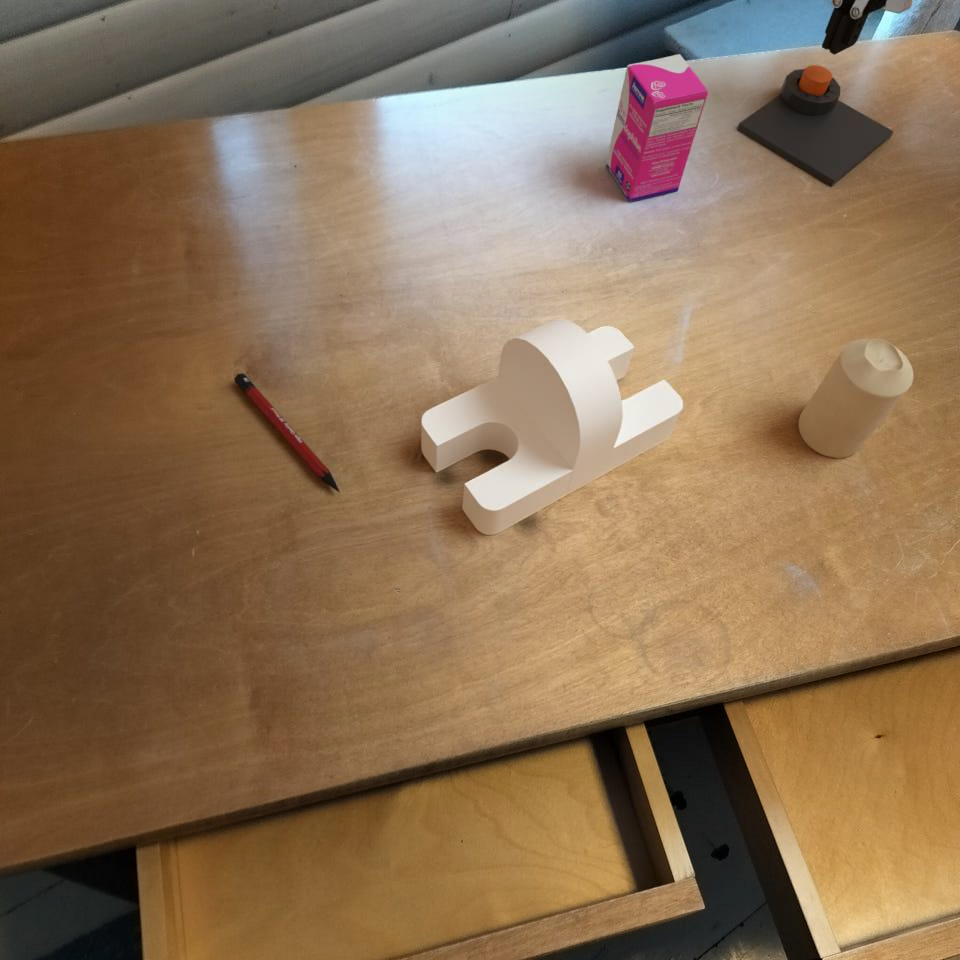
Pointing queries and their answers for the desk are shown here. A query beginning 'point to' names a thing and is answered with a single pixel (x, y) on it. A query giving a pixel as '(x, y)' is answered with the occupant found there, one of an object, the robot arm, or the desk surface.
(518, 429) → the bracket
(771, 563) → the desk surface
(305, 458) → the pencil
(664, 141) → the supplement box
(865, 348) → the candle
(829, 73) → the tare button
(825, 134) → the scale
